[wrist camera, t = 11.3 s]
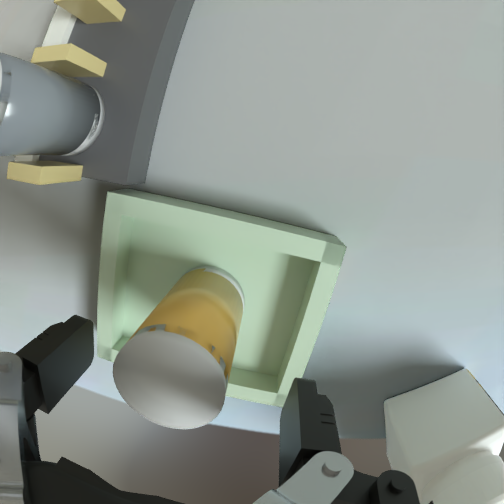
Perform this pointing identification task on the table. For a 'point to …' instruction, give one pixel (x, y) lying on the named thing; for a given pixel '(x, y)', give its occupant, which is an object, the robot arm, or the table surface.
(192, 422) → the cylinder
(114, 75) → the fuse block
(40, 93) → the cylinder
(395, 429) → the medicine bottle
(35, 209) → the table surface
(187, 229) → the tray
